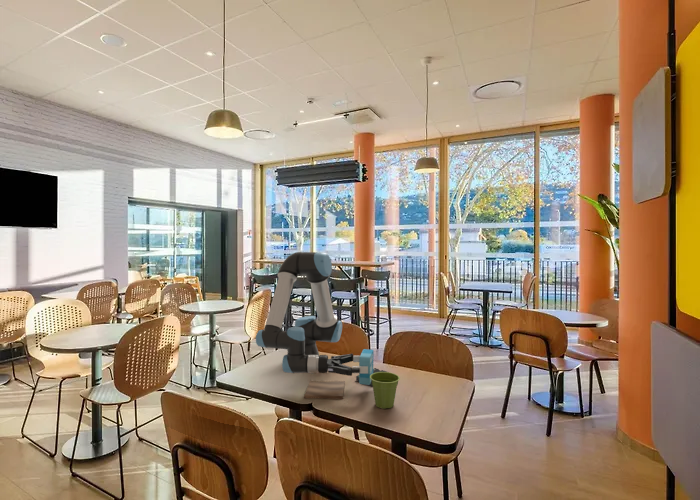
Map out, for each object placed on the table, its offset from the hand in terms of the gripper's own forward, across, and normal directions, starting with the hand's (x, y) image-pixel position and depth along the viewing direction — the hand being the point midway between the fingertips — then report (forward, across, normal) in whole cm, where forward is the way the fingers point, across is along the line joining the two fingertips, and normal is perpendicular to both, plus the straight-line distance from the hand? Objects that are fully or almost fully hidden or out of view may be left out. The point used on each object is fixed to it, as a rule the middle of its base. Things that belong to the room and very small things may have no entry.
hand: (367, 364), depth 154 cm
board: (-18, 0, -12) cm, 22 cm away
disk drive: (+3, -14, -13) cm, 19 cm away
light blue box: (-1, 0, -7) cm, 7 cm away
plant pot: (+7, +13, -12) cm, 19 cm away
